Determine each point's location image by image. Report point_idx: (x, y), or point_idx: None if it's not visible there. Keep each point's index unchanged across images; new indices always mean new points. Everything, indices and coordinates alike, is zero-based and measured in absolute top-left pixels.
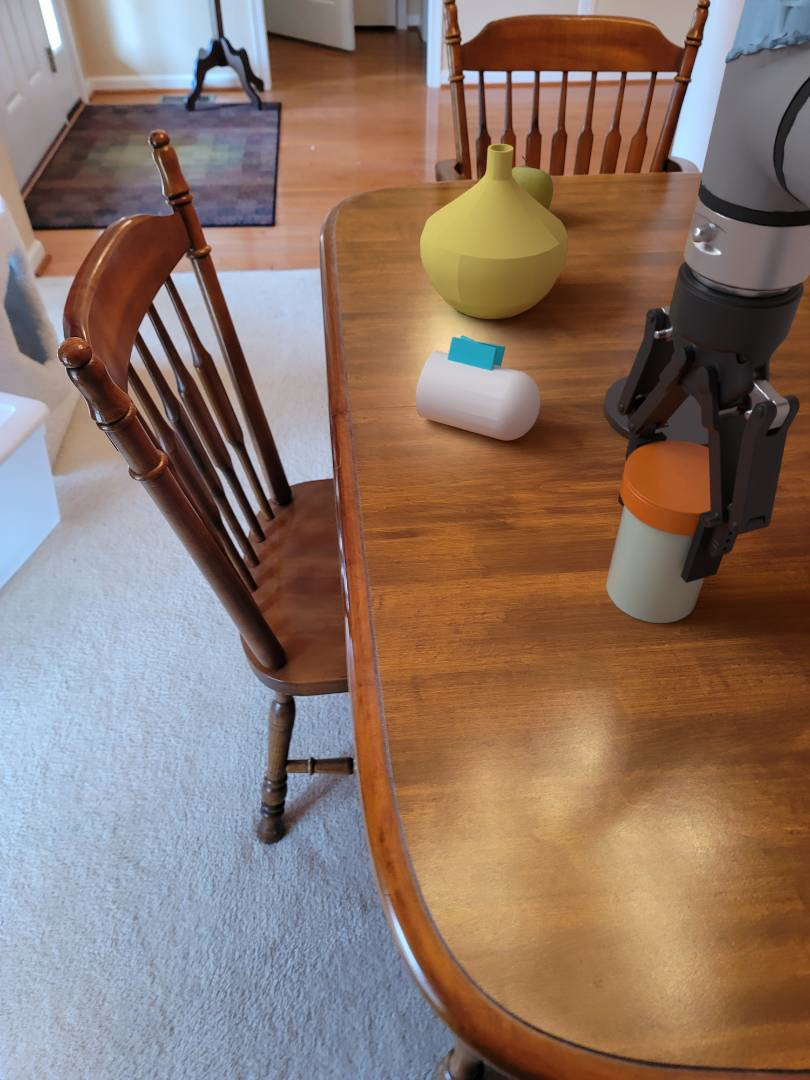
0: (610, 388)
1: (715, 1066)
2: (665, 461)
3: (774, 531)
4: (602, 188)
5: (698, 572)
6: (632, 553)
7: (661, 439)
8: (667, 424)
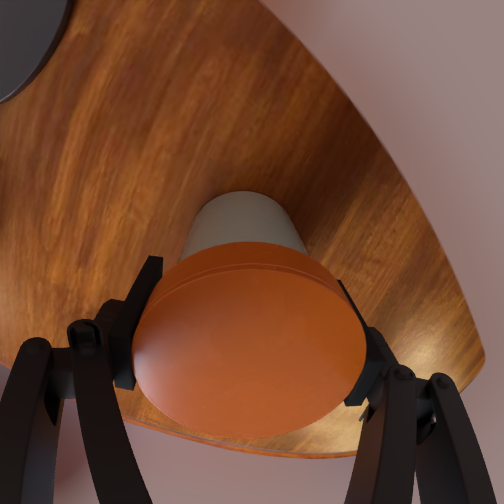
0: None
1: (464, 387)
2: (196, 378)
3: (240, 27)
4: None
5: None
6: None
7: (129, 346)
8: (15, 44)
